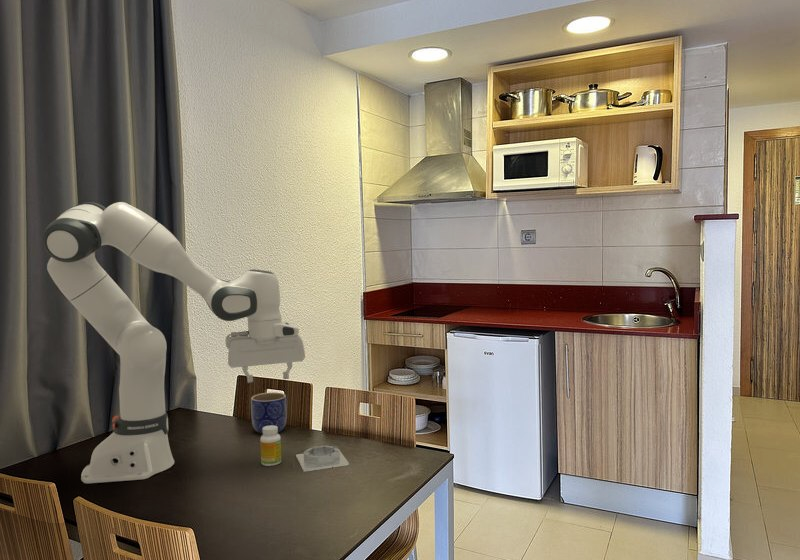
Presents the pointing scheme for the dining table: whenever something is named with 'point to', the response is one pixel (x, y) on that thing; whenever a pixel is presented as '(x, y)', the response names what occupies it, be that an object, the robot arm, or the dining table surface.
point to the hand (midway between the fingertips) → (268, 380)
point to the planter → (268, 411)
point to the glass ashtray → (321, 458)
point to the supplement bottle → (270, 446)
